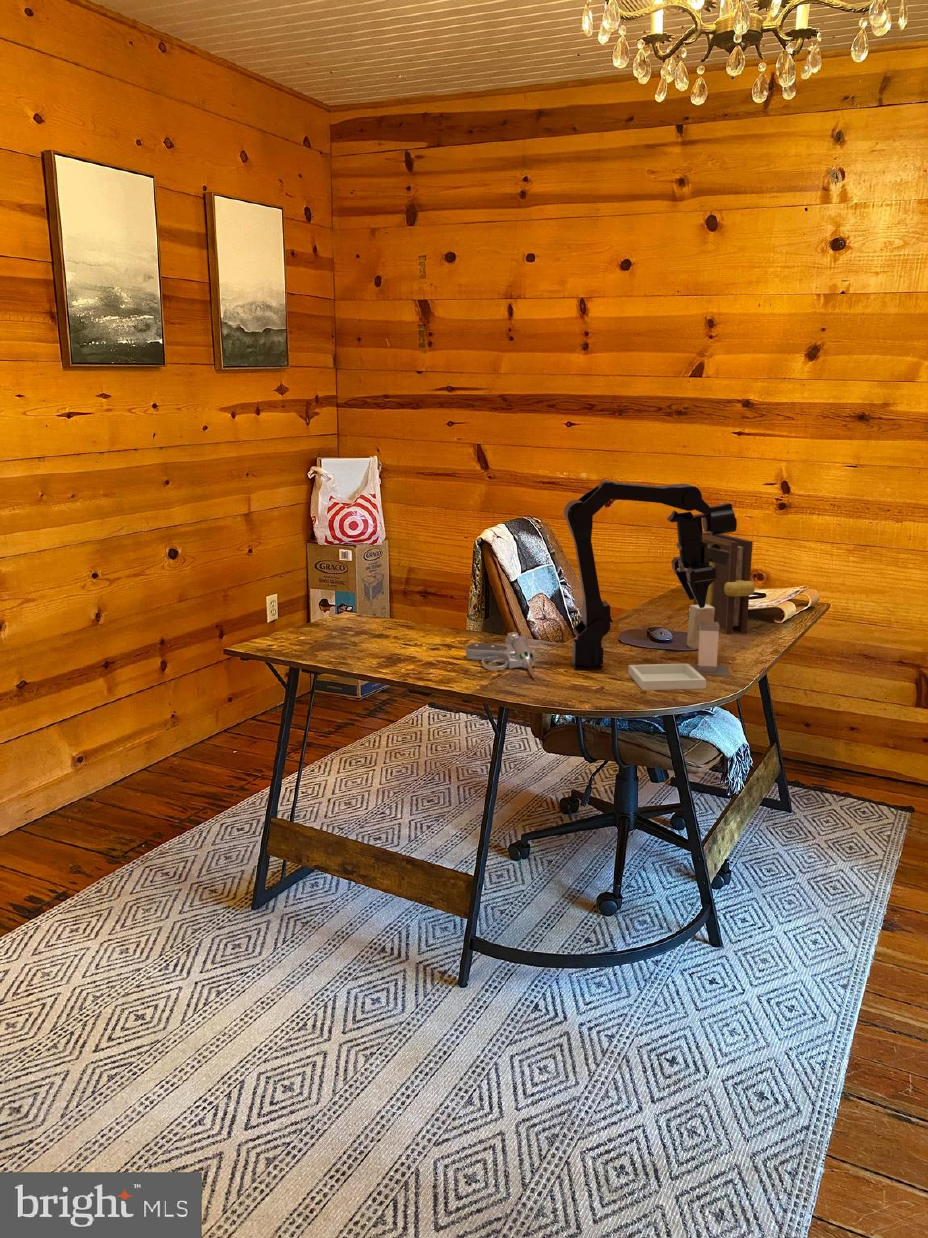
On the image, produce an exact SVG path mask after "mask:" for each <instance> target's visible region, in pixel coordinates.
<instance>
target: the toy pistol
mask: <svg viewBox="0 0 928 1238" xmlns="http://www.w3.org/2000/svg"><path fill="white" fill-rule="evenodd" d="M465 654H466V655H465V656H466V659H467V658H468V659H467V660H469V659H473V660H472V661H474V660H482V661H481V665H482V667H483V668H484V669H487V670H492V671H497V670H503V669H506V668H509V670H511V669H516V668H521V669H522V668H523V669H524V670H528V672H529V673H530V675H531V677H532V678H533V680H534V679H536V675H535V672H534V670H533V667H534V665H535V664H536V656H535V654H534V652H533V651H532V649H531V647H530V645H529V643H528V642H527V636H525V635H519V633H518V632H517V631H515V632H514V631H512V632H507V637H506V638H505V644H501V643H500V644H499V643H490V642H489V643H488V642H473V643H469V644H467V645H466V647H465ZM486 661H491V662H488V664H486V663H485V662H486ZM496 662H499V663H498V664H501V663H502V664H501V665H492V664H495V663H496Z"/></svg>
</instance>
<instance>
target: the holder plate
mask: <svg viewBox="0 0 928 1238" xmlns="http://www.w3.org/2000/svg"><path fill="white" fill-rule="evenodd" d="M688 664H689V663H688ZM689 665H690V666H692V667H693V668H694V669H695V670H696V671H697V672H698V668H697V663H695V664H691V663H690V664H689ZM698 673H699V674H701V675H708V676H711V675H712V676H730V677H731V672H730V669H729V666H728V665H717V673H716V672H698Z"/></svg>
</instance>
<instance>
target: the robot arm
mask: <svg viewBox="0 0 928 1238" xmlns="http://www.w3.org/2000/svg"><path fill="white" fill-rule="evenodd" d="M702 495H703V494H702V491H701V490H700V489H699V488H698V487H697V486H694V485H691V484H688V483H676V484H675V483H673V484H667V485H650V484H641V483H639V484H638V483H629V482H618V481H610V480H608V479H606V480H602V481H601V482H599V483H598V484H597V485H596V486H595V487H594V488H592V489H591V490H589V491H588V492H586V493H584V494H583V495H582V496H581V497H580V498H578V499H573V500H569V502H568V503H566V505H565V506H564V508H563V516H564V519H565V522H566V524H567V527H568V530H569V533H571V538H572V539H573V543H574V548H575V549H574V550H575V554H576V561H577V567H578V568H577V569H578V573H579V579H580V585H581V591H582V596H583V597H582V598H583V599H582V607H581V617H582V618H581V620H580V621H579V622H578V623H577V624H576V625H575V626H574V627H573V628H572V632H573V634H574V637H575V639H572V660H570V663H571V665H572V667H573V668H574V669H575V670H602V669H603V667H604V666H603V664H604V653H605V651H604V647H603V646H602V641H603V639H604V637H605V636H606V635H608V633H609V632H610V630H611V623H613V622H614V621H613V619H612V616H611V605H610V603H609V602H608V601H607V600H605V599H604V600H603V601H602V597H601V591H600V586H599V579H598V574H597V567H596V562H595V557H594V549H593V543H592V534H593V521H594V518H593V517H594V516H595V514H596V513H598V512H599V511H600V510H601V509H602V508H603V507H604V506H605V505H606V504H607V503H608V502H609V501H610V500H612V499H613V500H624V501H625V500H627V501H636V502H645V503H646V502H647V503H657V504H662V505H666V506H668V507H672V508H675V509H680V510H683V511H685V512H680V513H679V512H678V511H677V510H672V512H671V514H670V515H669V516H667V518H666V520H667V521H668V522H670V523H675V524H676V533H677V540H678V541H677V542H676V548H677V549H678V552H679V555H678V556H675V557H673V558H672V560H671V561H670V562H671V569H672V570H673V573H674V575H675V576H676V578H677V580H678V581H679V584H680V585H681V587H682V589H683V591H684V592H685V594H686V596H687V599H689V601H694V597H695V599H696V601H697V603H698V606H699V607H700V608H704V607H705V602H706V596H707V591H708V587H709V585H710V584H711V583H712V582H714V581H715V580H716V578H718V577H717V570H716V569H715V568H714V567H712V566H711V565H709V564H710V562H714V563H719V564H722V565H725V566H727V565H728V561H729V557H730V554H731V553H730V552H728V551H726V550H724V549H721V548H720V545H719V544H717V543H711V544H710V546H708V545H707V543H706V542H704V540H703V533H704V532H708V533H709V534H710V535H717V534H729V533H734V532H736V531H737V527H738V520H737V518H736V515H735V514H736V513H735V512H734V509H733V504H732V503H731V502H726V503H725V502H724V503H721V504H718V505H712V506H711V505H710V506H709V504H707V502H705V500H704V499H703V496H702ZM693 511H696V512H698V514H693Z"/></svg>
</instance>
